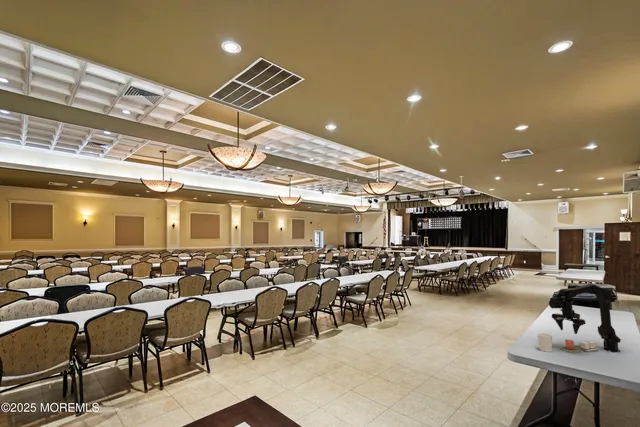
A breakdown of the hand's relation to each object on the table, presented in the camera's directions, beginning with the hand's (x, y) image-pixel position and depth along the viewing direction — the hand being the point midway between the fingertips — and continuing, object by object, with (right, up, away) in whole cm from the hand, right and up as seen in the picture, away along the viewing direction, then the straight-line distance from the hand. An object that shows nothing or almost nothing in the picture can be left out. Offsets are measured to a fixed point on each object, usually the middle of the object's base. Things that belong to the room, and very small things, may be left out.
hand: (568, 332), depth 209 cm
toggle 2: (+15, -10, 0) cm, 18 cm away
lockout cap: (0, -12, -1) cm, 12 cm away
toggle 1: (+10, -10, -1) cm, 14 cm away
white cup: (-16, -12, 0) cm, 20 cm away
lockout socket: (+1, -12, -1) cm, 12 cm away
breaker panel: (+12, -12, +2) cm, 17 cm away
